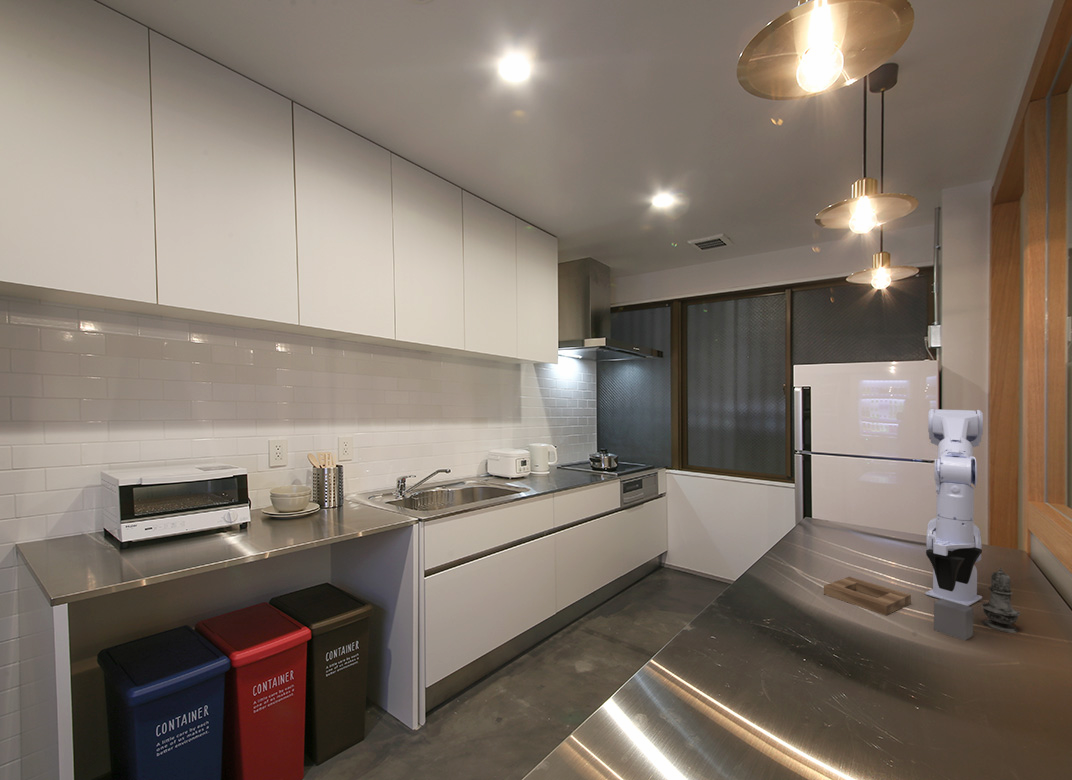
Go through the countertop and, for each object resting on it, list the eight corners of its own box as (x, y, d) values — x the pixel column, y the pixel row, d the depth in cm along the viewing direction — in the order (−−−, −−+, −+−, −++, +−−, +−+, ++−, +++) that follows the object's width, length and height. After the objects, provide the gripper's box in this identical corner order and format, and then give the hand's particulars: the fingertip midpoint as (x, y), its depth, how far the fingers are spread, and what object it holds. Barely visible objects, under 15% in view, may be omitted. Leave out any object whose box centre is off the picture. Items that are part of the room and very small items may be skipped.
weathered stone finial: (1028, 635, 99) (1028, 574, 99) (993, 631, 100) (994, 571, 100) (1006, 621, 104) (1007, 564, 105) (974, 618, 106) (974, 561, 106)
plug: (941, 625, 102) (942, 598, 102) (972, 635, 98) (973, 607, 98) (933, 630, 100) (934, 602, 100) (965, 640, 96) (965, 612, 96)
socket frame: (849, 584, 124) (849, 576, 124) (910, 603, 113) (910, 594, 113) (823, 594, 117) (823, 585, 117) (886, 615, 106) (886, 606, 106)
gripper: (944, 509, 106) (943, 573, 106) (915, 517, 99) (914, 585, 99) (987, 516, 101) (986, 584, 100) (960, 525, 93) (959, 598, 93)
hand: (953, 585), depth 99 cm, fingers open, 7 cm apart
